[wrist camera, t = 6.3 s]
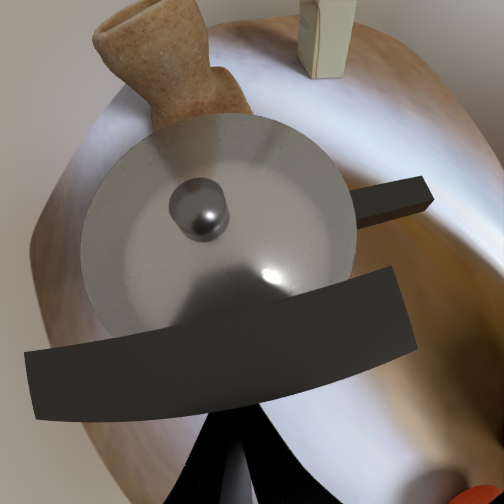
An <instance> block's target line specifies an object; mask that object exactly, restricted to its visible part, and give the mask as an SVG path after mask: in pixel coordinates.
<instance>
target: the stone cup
mask: <svg viewBox="0 0 504 504" xmlns="http://www.w3.org/2000/svg"><path fill="white" fill-rule="evenodd" d="M92 41H93V45H94V47H95V49H96V50H97V52H98V53H99V54H100V56H101V58H102V60H103V62H104V63H105V65H106V66H107V67H108V68H109V69H110V71H111V72H112V73H114V74H115V75H116V76H117V77H118V78H120V79H121V80H122V81H123V82H125V83H126V84H127V85H129V86H130V87H131V88H132V89H134V90H135V91H136V92H137V93H138V94H139V95H140V96H142V97H143V98H144V99H145V100H146V101H147V102H148V103H149V104H150V105H151V118H152V124H153V129H154V133H155V132H157V131H158V130H160V129H163V128H165V127H167V126H169V125H171V124H174V123H176V122H179V121H182V120H185V119H189V118H193V117H197V116H201V115H208V114H215V113H242V114H250V115H254V114H253V112H252V111H251V108H250V106H249V104H248V103H247V100H246V98H245V96H244V94H243V92H242V90H241V88H240V86H239V84H238V83H237V81H236V80H235V78H234V77H233V75H232V74H231V73H230V72H229V71H228V70H227V69H226V68H224V67H219V66H218V67H210V62H209V45H208V33H207V29H206V26H205V24H204V20H203V18H202V15H201V12H200V10H199V7H198V5H197V3H196V1H195V0H140V1H138V2H135V3H133V4H131V5H129V6H127V7H125V8H124V9H122V10H120V11H118V12H117V13H115V14H114V15H113V16H111V17H110V18H108V19H107V20H106V21H104V22H103V23H102V24H101V25H100V26H99V27H98V28H97V29H96V30H95V32H94V35H93V38H92Z"/></svg>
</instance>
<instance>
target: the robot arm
mask: <svg viewBox="0 0 504 504" xmlns="http://www.w3.org/2000/svg"><path fill="white" fill-rule="evenodd" d="M185 465H186V466H184V467H183V469H182V472H181V474H180V476H179V478H178V480H177V482H176V483H175V485H174V487H173V489H172V490H171V492H170V494H169V495H168V497H167V498H166V500H165V501H164V503H163V504H253V502H252V489H251V480H252V484H253V487H254V491H255V494H256V498H257V501H258V504H343V503H341V502H340V501H339V500H338V499H337V498H336V497H334V496H333V495H332V494H331V493H330V492H329V491H328V490H327V489H325V488H324V487H323V486H322V485H321V484H320V483H319V482H318V481H317V480H316V479H315V478H314V477H313V476H312V475H311V474H310V473H309V472H308V471H307V470H306V469H305V468H304V467H303V466H302V464H301V463H300V462H299V461H298V459H297V458H296V457H295V455H294V454H293V453H292V451H291V450H290V449H289V447H288V446H287V444H286V443H285V441H284V440H283V439H282V437H281V436H280V434H279V433H278V431H277V430H276V428H275V427H274V426H273V424H272V423H271V421H270V420H269V418H268V417H267V415H266V414H265V412H264V411H263V409H262V408H261V406H260V404H259V403H258V404H253V405H249V406H244V407H239V408H234V409H229V410H223V411H218V412H212V413H208V416H207V418H206V420H205V422H204V424H203V427H202V429H201V431H200V433H199V435H198V437H197V440H196V442H195V444H194V446H193V448H192V450H191V453H190V455H189V457H188V459H187V461H186V463H185ZM488 504H504V491H503V492H501V493H500V494H499V495H498V496H497V497H495V498H494V499H493V500H492V501H490V502H489V503H488Z"/></svg>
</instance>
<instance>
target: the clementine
mask: <svg viewBox="0 0 504 504" xmlns="http://www.w3.org/2000/svg"><path fill="white" fill-rule="evenodd" d="M501 492H502V491H501V490H499V489H498V488H496V487H494V486H490V485H481V486H475V487H472V488H470V489H468V490H465V491H464V492H462V493H460V494H459V495H457V496H456V497H454V498H453V499H452V500H451V501H450V502H449V503H448V504H488V503H489V502H490V501H492V500H493V499H494V498H495V497H497V496H498V495H499V494H500V493H501Z"/></svg>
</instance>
